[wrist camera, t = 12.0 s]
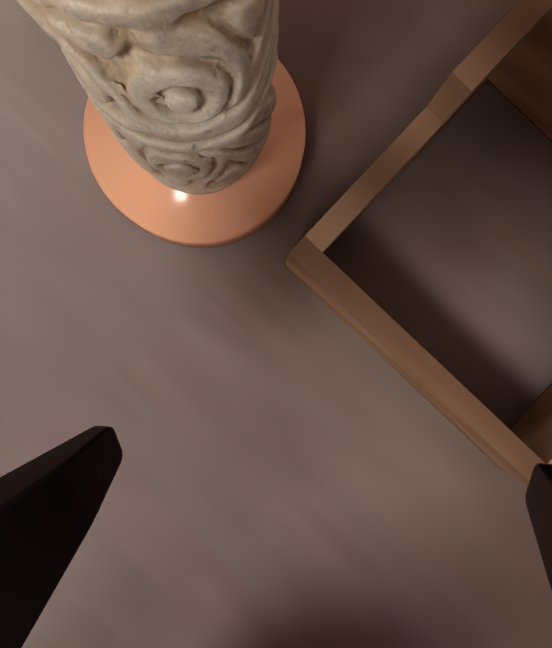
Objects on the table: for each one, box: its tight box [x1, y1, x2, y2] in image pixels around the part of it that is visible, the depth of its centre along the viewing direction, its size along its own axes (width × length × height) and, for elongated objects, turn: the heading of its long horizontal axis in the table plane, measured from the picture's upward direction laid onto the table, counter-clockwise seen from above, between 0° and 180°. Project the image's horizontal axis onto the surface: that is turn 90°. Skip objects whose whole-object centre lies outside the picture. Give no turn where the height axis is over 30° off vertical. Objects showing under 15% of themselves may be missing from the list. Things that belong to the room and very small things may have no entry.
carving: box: [16, 0, 279, 195], centre depth 10 cm, size 6×8×12 cm
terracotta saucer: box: [84, 59, 306, 248], centre depth 17 cm, size 10×10×2 cm
